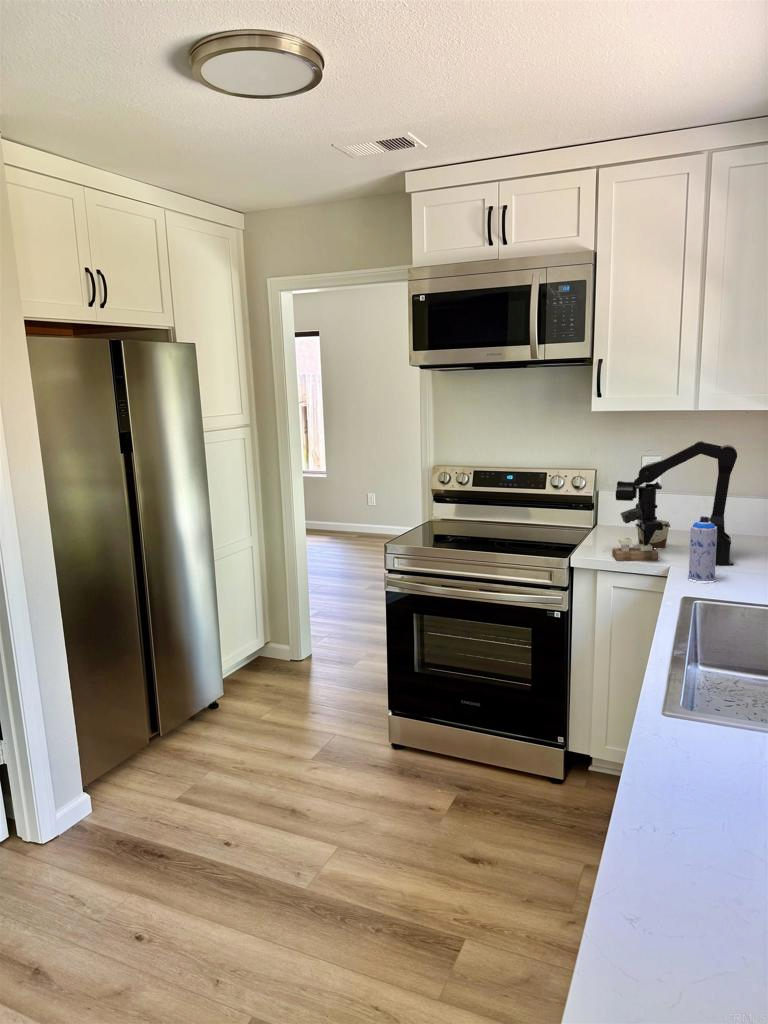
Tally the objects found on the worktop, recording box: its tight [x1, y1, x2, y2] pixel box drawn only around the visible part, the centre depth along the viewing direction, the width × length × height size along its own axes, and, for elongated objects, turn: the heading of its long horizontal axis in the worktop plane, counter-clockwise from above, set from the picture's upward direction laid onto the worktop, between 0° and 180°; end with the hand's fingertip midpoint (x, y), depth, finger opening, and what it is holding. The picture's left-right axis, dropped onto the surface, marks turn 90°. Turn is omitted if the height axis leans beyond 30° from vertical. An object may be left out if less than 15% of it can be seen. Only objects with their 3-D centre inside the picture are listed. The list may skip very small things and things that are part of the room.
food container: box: [635, 519, 671, 550], centre depth 262 cm, size 12×6×10 cm, turn 84°
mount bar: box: [611, 547, 660, 562], centre depth 246 cm, size 7×14×3 cm, turn 85°
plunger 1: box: [618, 537, 633, 551], centre depth 246 cm, size 4×4×5 cm
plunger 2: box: [638, 543, 652, 551], centre depth 246 cm, size 4×4×5 cm
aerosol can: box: [688, 516, 717, 581], centre depth 216 cm, size 8×8×20 cm
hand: (645, 545), depth 245 cm, fingers closed, pressing on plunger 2
